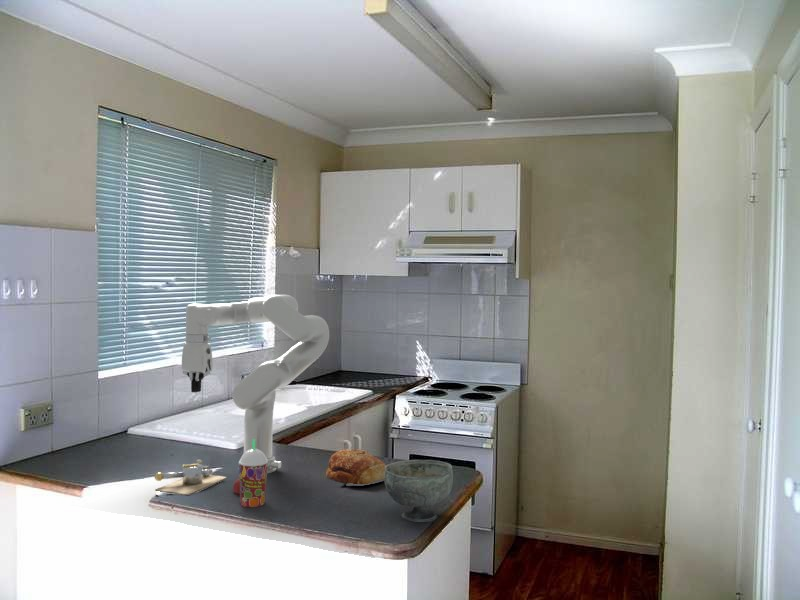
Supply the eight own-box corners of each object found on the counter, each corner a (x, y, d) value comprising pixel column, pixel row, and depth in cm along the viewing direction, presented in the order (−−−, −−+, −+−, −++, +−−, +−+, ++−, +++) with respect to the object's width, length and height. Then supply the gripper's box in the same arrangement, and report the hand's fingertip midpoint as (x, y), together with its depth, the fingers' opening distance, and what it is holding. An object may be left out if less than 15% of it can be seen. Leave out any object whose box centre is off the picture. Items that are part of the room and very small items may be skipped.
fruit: (243, 501, 203) (244, 475, 203) (230, 498, 206) (230, 471, 206) (258, 496, 208) (259, 470, 208) (245, 493, 211) (245, 467, 211)
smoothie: (240, 514, 192) (241, 443, 192) (235, 505, 200) (236, 437, 199) (270, 510, 195) (271, 441, 195) (263, 502, 203) (264, 435, 203)
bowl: (394, 505, 203) (395, 454, 203) (458, 512, 197) (459, 460, 197) (373, 526, 184) (374, 471, 184) (443, 535, 179) (444, 478, 178)
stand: (227, 483, 222) (227, 461, 221) (188, 500, 203) (188, 477, 203) (196, 478, 226) (196, 457, 226) (155, 495, 207) (155, 473, 207)
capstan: (211, 477, 219) (211, 460, 219) (214, 482, 214) (214, 464, 214) (153, 483, 212) (153, 465, 212) (155, 488, 207) (155, 470, 207)
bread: (359, 470, 241) (359, 442, 241) (399, 479, 230) (400, 450, 230) (318, 482, 225) (319, 452, 225) (360, 493, 214) (360, 462, 214)
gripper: (221, 339, 238) (220, 391, 238) (185, 337, 243) (185, 388, 243) (208, 341, 231) (207, 394, 231) (172, 339, 236) (171, 391, 236)
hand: (196, 391), depth 237 cm, fingers closed
